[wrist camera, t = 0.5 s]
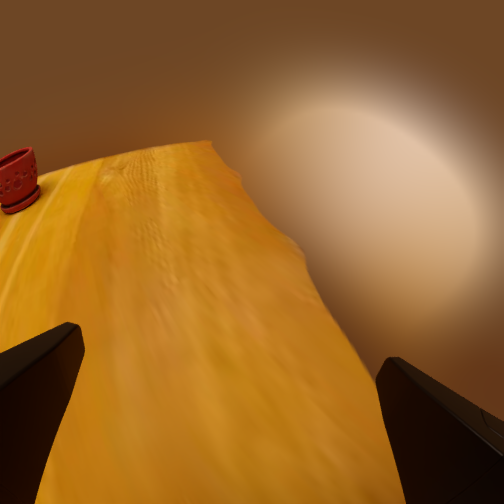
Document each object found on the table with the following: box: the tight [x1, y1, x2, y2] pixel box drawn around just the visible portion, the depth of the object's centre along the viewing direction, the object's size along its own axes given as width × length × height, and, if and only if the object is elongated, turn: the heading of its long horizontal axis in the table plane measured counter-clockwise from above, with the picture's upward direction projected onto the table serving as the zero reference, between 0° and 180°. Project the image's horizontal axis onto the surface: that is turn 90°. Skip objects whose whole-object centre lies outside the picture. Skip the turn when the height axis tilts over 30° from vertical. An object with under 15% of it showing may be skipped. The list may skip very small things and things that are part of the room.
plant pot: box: [0, 147, 41, 213], centre depth 46 cm, size 13×13×12 cm
